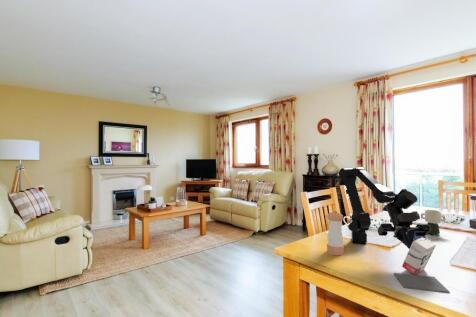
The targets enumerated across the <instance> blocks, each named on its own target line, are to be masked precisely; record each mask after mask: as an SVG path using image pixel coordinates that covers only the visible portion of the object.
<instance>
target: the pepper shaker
mask: <svg viewBox="0 0 476 317" xmlns="http://www.w3.org/2000/svg"><path fill="white" fill-rule="evenodd" d="M326 218H327V219H328V234H327V244H326V252H327V254H329V255H332V256H343V255H344V254H345V250H344V249H345V247H344V243H343V242H344V237H343V236H344V235H343V232H342V230H343V229H342V221H343V220H344V215H343V214H342V213H340V212H337V210H333V211H331V212H329V213H328V214H327V216H326Z"/></svg>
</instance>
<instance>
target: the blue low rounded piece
mask: <svg viewBox="0 0 476 317" xmlns="http://www.w3.org/2000/svg"><path fill="white" fill-rule="evenodd" d="M422 237H423V238H425V239H427V240H429V241H430V242H432V240H431V239H428V238H426V236H416V235H414V238H413V241H415V240H417V239H420V238H422Z"/></svg>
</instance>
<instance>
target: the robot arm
mask: <svg viewBox="0 0 476 317" xmlns="http://www.w3.org/2000/svg"><path fill="white" fill-rule="evenodd" d="M338 176H339V178H340V181H341V182H342V183H343V184H344V185H345V188H346V191H347V195H348V198H349V203H350V206H351V209H352V212H351V222H350V223H349V224H348V225H347V229H348V230H349V231H351V234H350V235H351V238H350V240H351V242H352V244H359V245H368V244H367V242H368V234H367V231H369V228H370V227H371V225H372V219H371V217H370V212H366V211H365V210H364V209H363V208H364V207H363V205H362V201H361V198H360V194H359V192H358V189H357V185H356V181H357V179H358V180H360V181H361V182H363V184H364V185H365V186H366V187H367V188H368V189H369V190H370V191H371V193H372V196H373V198H374V199H375V200H376V202H377V203H378V204H385V205H383V208H382V211H383V212H387V214H388V216H389V218H390V219H389V222H390V223H389V222H388V223H385V222H384V223H380V225H379V226H378V227H377V228H378V229H377V233H378V236H380V237H383V236H384V237H386V236H387V235H388V234H389V232H390V233H393V236H392V237H393V238H394V239H395V238H396V239H397V240H398V241H399V242H401V243H402V244H403V245H404V246H405V247H407V249H408V250H409V249H410V247H411V245H412V243H413V238H414V235H416V236H425V237H426V236H427V235H428V234H429V232H430V231H431V230H432V229H431V228H430V226H429V225H428V224H427V223H417V224H416V226H413V222H417V221H418V220H420V219H421V215H420V214H419V212H418V211H415V210H414V211H411V212H404V210H408V209H409V208H410V207H412V206H413V205H414V204H415V203H417V202H418V197H417V195H415V194H414V193H413V192H412V191H409V190H407V189H406V188H402V189H401V190H400V191H399V192H398V193H395V192H394V191H393V190H391V189H390V188H389V187H387V186H385V185H382V184H380V182H378V181H377V180H376V179H375V178H374V177H373V176H372V175H371V174H370V173H369V172H368V171H366V169H365V168H364V167H355V168H353V167H342V168H340V169H339V171H338Z"/></svg>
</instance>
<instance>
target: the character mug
mask: <svg viewBox="0 0 476 317" xmlns="http://www.w3.org/2000/svg"><path fill="white" fill-rule="evenodd" d="M441 213H442V212H441V211H439V210H435V209H425V210H424V212H421V213H420V219H422V220H425V222H426V224H428V225H429V226H430V228H431V229H432V230H431V231H430V232H429V233H428V234H430V235H439V234H440V232H441V231H440V226H439V224H440V223H441V222H445V221H446V215H442V214H441ZM441 218H442V219H441Z"/></svg>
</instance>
